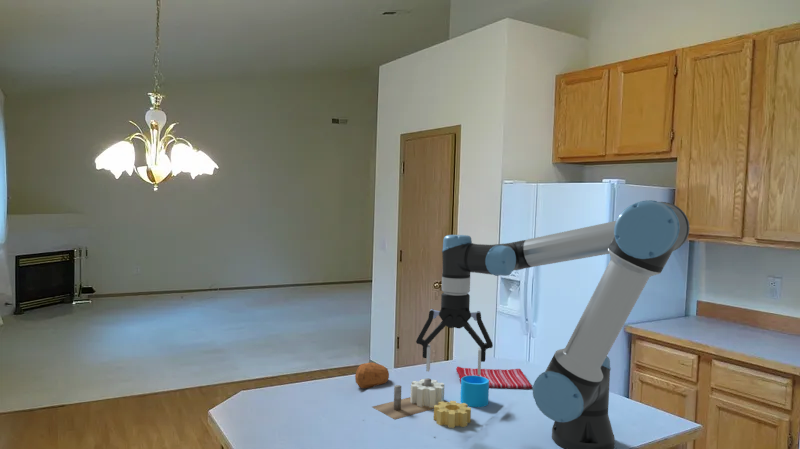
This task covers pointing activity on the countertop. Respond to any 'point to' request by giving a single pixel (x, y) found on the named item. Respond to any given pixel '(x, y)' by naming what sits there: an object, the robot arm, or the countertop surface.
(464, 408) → the ochre gear
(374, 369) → the potato
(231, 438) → the countertop surface
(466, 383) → the mug
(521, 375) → the dish towel
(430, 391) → the cream gear
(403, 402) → the walnut board
